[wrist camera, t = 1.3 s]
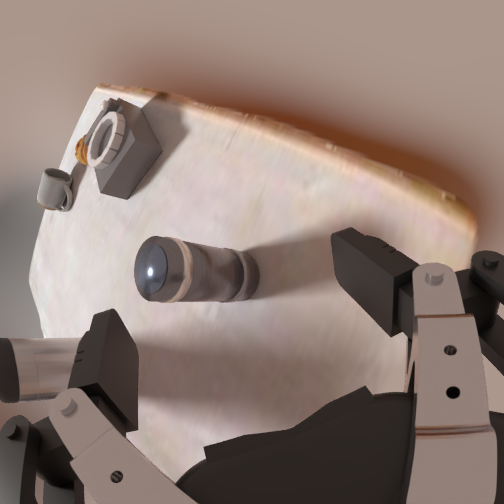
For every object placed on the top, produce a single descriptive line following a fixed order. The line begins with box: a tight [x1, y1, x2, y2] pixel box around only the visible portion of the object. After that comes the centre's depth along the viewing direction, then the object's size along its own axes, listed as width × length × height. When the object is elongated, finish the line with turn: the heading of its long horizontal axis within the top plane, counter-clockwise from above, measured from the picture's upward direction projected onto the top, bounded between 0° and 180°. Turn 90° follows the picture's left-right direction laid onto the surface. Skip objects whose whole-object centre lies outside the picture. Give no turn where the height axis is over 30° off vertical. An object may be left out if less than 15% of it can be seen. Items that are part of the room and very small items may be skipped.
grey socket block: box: [84, 98, 162, 200], centre depth 44 cm, size 10×14×7 cm
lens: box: [134, 236, 259, 303], centre depth 28 cm, size 5×5×11 cm
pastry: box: [75, 134, 88, 165], centre depth 56 cm, size 9×7×4 cm
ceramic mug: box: [37, 168, 73, 212], centre depth 60 cm, size 11×8×8 cm
